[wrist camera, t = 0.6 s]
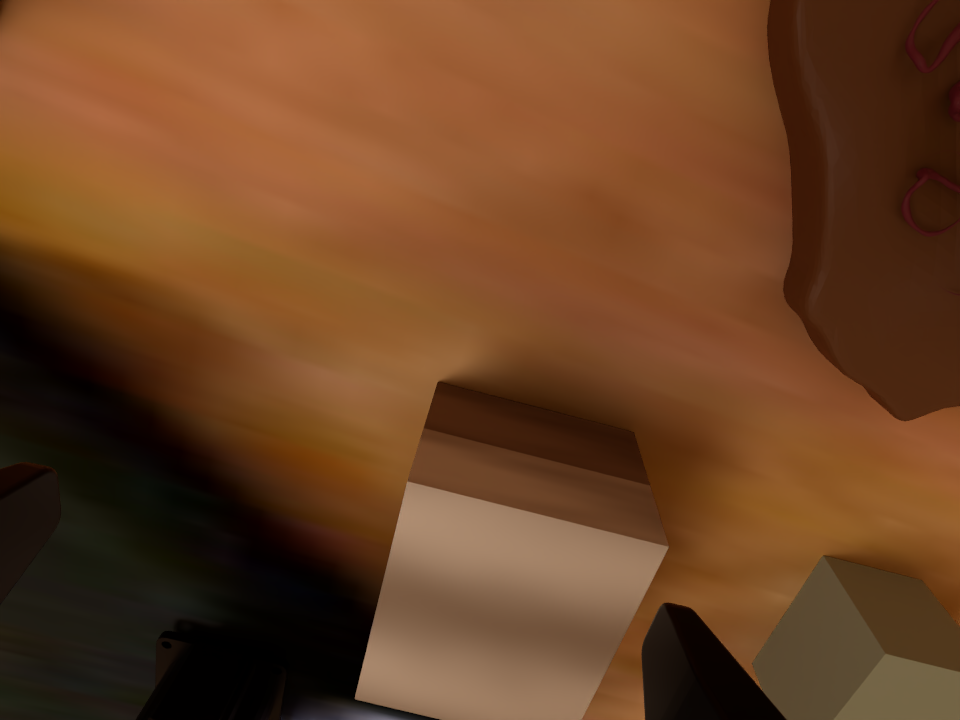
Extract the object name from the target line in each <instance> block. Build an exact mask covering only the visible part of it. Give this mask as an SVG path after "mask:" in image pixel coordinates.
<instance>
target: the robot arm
mask: <svg viewBox="0 0 960 720" xmlns="http://www.w3.org/2000/svg"><path fill="white" fill-rule="evenodd" d="M60 516H61V505H60V495H59V484H58V476H57V473H56V471H55V470H54V469H53V468H51V467H48V466H43V465H39V464H34V463H29V462H21V463H17V464H14V465H11V466H8V467H5V468H2V469H0V604H1V603H2V602H3V600H4V599H5V598H6V596H7V595H8V594H9V592H10V591H11V589H12V588H13V587H14V585H15V584H16V583H17V581H18V580H19V578H20V577H21V576H22V574H23V573H24V572H25V570H26V569H27V567H28V566H29V565H30V563H31V562H32V561H33V559H34V558H35V557H36V555H37V554H38V552H39V551H40V550H41V548H42V547H43V546H44V544H45V543H46V541H47V540H48V539H49V537H50V536H51V535H52V533H53V532H54V530H55V529H56V527H57V525H58V523H59V520H60ZM288 672H289V663H288V661H287V660H286V659H284V658H281V657H278V656H273V655H269V654H265V653H261V652H256V651H252V650H248V649H244V648H240V647H235V646H231V645H227V644H223V643H219V642H214V641H210V640H206V639H202V638H197V637H193V636H189V635H185V634H181V633H176V632H172V631H165V632H163V633H162V634H161V635H160V637H159V638H158V640H157V643H156V685H155V690H154V691H153V693H152V694H151V696H150V698H149V699H148V701H147V702H146V704H145V706H144V707H143V709H142V711H141V712H140V714H139V715H138V717H137V719H136V720H281V714H282V708H283V702H284V696H285V690H286V684H287V678H288ZM642 672H643V690H644V707H645V720H787V719H786V718H785V717H784V716H783V715H782V713H781V712H780V711H779V710H778V709H777V707H776V706H775V705H774V704H773V703H772V702H771V700H770V699H769V698H768V697H767V696H766V695H765V693H764V692H763V691H762V690H761V689H760V688H759V686H758V685H757V684H756V683H755V682H754V680H753V679H752V678H751V677H750V676H749V675H748V673H747V672H746V671H745V670H744V669H743V668H742V666H741V665H740V664H739V663H738V662H737V661H736V659H735V658H734V657H733V656H732V655H731V653H730V652H729V651H728V650H727V649H726V648H725V646H724V645H723V644H722V643H721V642H720V641H719V639H718V638H717V637H716V636H715V635H714V634H713V632H712V631H711V630H710V629H709V628H708V626H707V625H706V624H705V623H704V622H703V621H702V619H701V618H700V617H699V616H698V615H697V614H696V612H695V611H694V610H692V609H691V608H689V607H686V606H682V605H677V604H672V603H664V604H662V605H661V606H660V608H659V609H658V611H657V613H656V615H655V618H654V620H653V622H652V624H651V626H650V628H649V630H648V632H647V634H646V637H645V639H644V642H643V646H642Z"/></svg>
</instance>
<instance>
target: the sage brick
mask: <svg viewBox="0 0 960 720" xmlns="http://www.w3.org/2000/svg"><path fill="white" fill-rule="evenodd" d="M752 665H753V667H754V670H755V673H756V675H757V678H758V680H759V683H760V685H761V688H762V690H763V692H764V693H765V695H766V696H767V697H768V698H769V699H770V700H771V702H772V703H773V704H774V705H775V706H776V707H777V709H778V710H779V711H780V712H781V713H782V715H783V716H784V717H785V718H786V719H787V720H960V627H959V626H958V625H957V623H956V622H955V621H954V620H953V618H952V617H951V616H950V615H949V613H948V612H947V611H946V610H945V608H944V607H943V606H942V605H941V603H940V602H939V601H938V600H937V598H936V597H935V596H934V595H933V593H932V592H931V591H930V590H929V588H928V587H927V586H926V585H925V583H924V582H923V581H922V580H919V579H915V578H911V577H907V576H903V575H899V574H895V573H891V572H887V571H883V570H879V569H875V568H871V567H867V566H863V565H860V564H856V563H852V562H848V561H844V560H840V559H836V558H832V557H828V556H824V555H823V556H822V558H821V559H820V561H819V562H818V564H817V565H816V567H815V568H814V570H813V571H812V573H811V574H810V576H809V577H808V579H807V581H806V582H805V584H804V585H803V587H802V588H801V590H800V591H799V593H798V594H797V596H796V597H795V599H794V600H793V602H792V603H791V605H790V606H789V608H788V609H787V611H786V612H785V614H784V616H783V617H782V619H781V620H780V622H779V623H778V625H777V626H776V628H775V629H774V631H773V632H772V634H771V635H770V637H769V638H768V640H767V641H766V643H765V644H764V646H763V647H762V649H761V651H760V652H759V654H758V655H757V657H756V658H755V660H754V661H753V663H752Z"/></svg>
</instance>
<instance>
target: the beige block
mask: <svg viewBox="0 0 960 720" xmlns="http://www.w3.org/2000/svg"><path fill="white" fill-rule="evenodd" d="M668 548H669V545H668V542H667V539H666V536H665V532H664V529H663V526H662V523H661V519H660V516H659V513H658V510H657V506H656V503H655V500H654V497H653V493H652V490H651V487H650V484H649V480H648V477H647V474H646V471H645V467H644V464H643V461H642V458H641V454H640V451H639V448H638V445H637V441H636V438H635V435H634V432H631V431H627V430H623V429H619V428H615V427H611V426H607V425H603V424H600V423H596V422H592V421H588V420H584V419H580V418H576V417H572V416H569V415H565V414H561V413H557V412H553V411H549V410H545V409H541V408H537V407H534V406H530V405H526V404H522V403H518V402H514V401H510V400H506V399H502V398H499V397H495V396H491V395H487V394H483V393H479V392H475V391H471V390H468V389H464V388H460V387H456V386H452V385H448V384H444V383H440V382H438V383H437V386H436V390H435V393H434V396H433V399H432V403H431V406H430V409H429V413H428V416H427V419H426V422H425V426H424V429H423V432H422V435H421V439H420V442H419V445H418V448H417V452H416V455H415V458H414V462H413V465H412V468H411V471H410V475H409V478H408V481H407V485H406V489H405V493H404V497H403V502H402V506H401V510H400V514H399V518H398V522H397V526H396V530H395V534H394V539H393V543H392V547H391V551H390V555H389V559H388V563H387V567H386V572H385V576H384V580H383V584H382V588H381V592H380V596H379V600H378V604H377V609H376V613H375V617H374V621H373V625H372V629H371V633H370V637H369V641H368V646H367V650H366V654H365V658H364V662H363V666H362V670H361V674H360V678H359V683H358V687H357V691H356V695H355V699H356V700H360V701H364V702H369V703H373V704H377V705H381V706H386V707H390V708H394V709H398V710H403V711H407V712H411V713H415V714H419V715H424V716H428V717H432V718H436V719H441V720H582V718H583V716H584V714H585V712H586V710H587V708H588V706H589V704H590V702H591V700H592V698H593V696H594V694H595V692H596V690H597V688H598V686H599V684H600V682H601V680H602V678H603V676H604V674H605V673H606V671H607V669H608V667H609V665H610V663H611V661H612V659H613V657H614V655H615V653H616V651H617V649H618V647H619V645H620V643H621V641H622V639H623V637H624V635H625V633H626V631H627V629H628V627H629V625H630V623H631V621H632V619H633V617H634V615H635V613H636V611H637V609H638V607H639V605H640V603H641V601H642V599H643V597H644V595H645V593H646V591H647V589H648V587H649V586H650V584H651V582H652V580H653V578H654V576H655V574H656V572H657V570H658V568H659V566H660V564H661V562H662V560H663V558H664V556H665V554H666V552H667V550H668Z"/></svg>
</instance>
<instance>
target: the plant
mask: <svg viewBox="0 0 960 720" xmlns="http://www.w3.org/2000/svg"><path fill="white" fill-rule="evenodd" d="M767 36H768V49H769V60H770V66H771V72H772V78H773V83H774V87H775V91H776V95H777V99H778V103H779V108H780V111H781V115H782V118H783V122H784V125H785V129H786V133H787V138H788V145H789V151H790V164H791V187H792V217H793V245H792V254H791V259H790V264H789V268H788V271H787V274H786V277H785V279H784V287H783V292H784V297H785V299H786V302H787V303H788V305H789V306H790V307H791V308H792V309H793V310H794V311H795V312H796V313H797V314H798V315H799V317H800V318H801V319H802V321H803V323H804V325H805V328H806V330H807V332H808V334H809V336H810V338H811V340H812V341H813V343H814V344H815V346H816V347H817V349H818V350H819V351H820V352H821V353H822V354H823V355H824V356H825V358H826V359H828V360H829V361H830V362H831V363H832V364H833V365H834V366H835V367H836V368H838V369H839V370H840V371H841V372H842V373H843V374H844V375H846V376H847V377H849V378H850V379H852V380H854V381H855V382H857V383H858V384H860V385H862V386H863V387H864V388H865V389H866V391H867V392H868V394H869V395H870V396H871V397H872V398H873V399H874V400H876V401H877V402H878V403H879V404H880V405H881V406H882V407H883V408H885V409H886V410H887V411H888V412H889V413H890V414H891V415H893V416H894V417H895V418H896V419H899V420H901V421H909V420H913V419H916V418H918V417H921V416H924V415H926V414H929V413H931V412H934V411H937V410H940V409H943V408H949V407H956V406H960V0H771V2H770V8H769V15H768V25H767Z"/></svg>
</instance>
